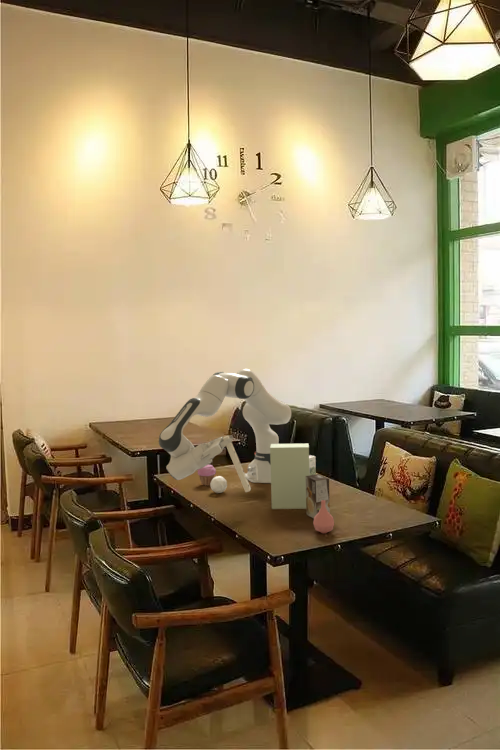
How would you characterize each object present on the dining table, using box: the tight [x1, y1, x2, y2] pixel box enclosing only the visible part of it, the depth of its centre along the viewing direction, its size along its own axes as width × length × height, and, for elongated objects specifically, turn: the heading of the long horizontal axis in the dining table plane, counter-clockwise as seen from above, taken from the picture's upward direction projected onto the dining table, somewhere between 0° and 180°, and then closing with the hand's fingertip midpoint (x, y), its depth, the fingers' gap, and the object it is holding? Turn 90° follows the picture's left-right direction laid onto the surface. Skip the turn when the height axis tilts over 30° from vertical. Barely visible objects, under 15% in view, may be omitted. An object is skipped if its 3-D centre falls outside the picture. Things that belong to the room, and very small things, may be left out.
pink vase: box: [312, 500, 335, 534], centre depth 241 cm, size 8×8×12 cm
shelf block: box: [270, 443, 310, 510], centre depth 276 cm, size 16×8×26 cm, turn 86°
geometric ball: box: [209, 475, 228, 494], centre depth 301 cm, size 8×8×8 cm
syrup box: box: [309, 454, 317, 476], centre depth 307 cm, size 6×6×14 cm
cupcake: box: [197, 464, 217, 486], centre depth 316 cm, size 9×9×10 cm
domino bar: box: [223, 434, 252, 493], centre depth 267 cm, size 24×4×2 cm
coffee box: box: [305, 473, 331, 519], centre depth 261 cm, size 9×6×16 cm
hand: (232, 437), depth 266 cm, fingers closed on domino bar, 4 cm apart
